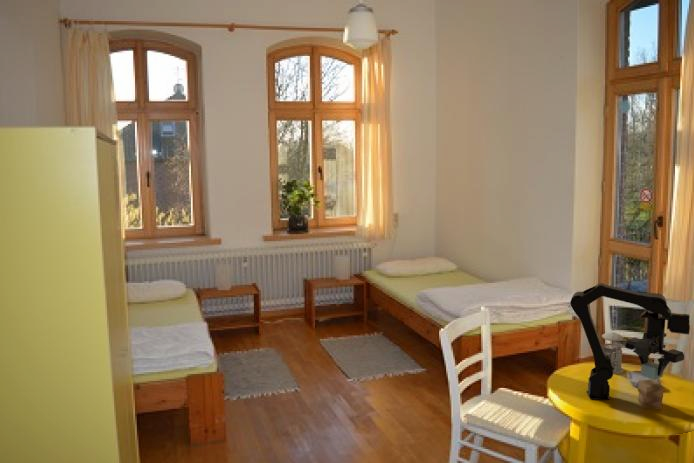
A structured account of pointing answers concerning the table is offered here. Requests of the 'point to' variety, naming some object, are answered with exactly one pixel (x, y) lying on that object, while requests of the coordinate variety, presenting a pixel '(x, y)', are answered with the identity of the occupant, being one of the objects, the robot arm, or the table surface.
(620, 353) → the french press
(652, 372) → the slate block
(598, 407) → the table surface
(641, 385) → the tower mid
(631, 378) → the stone block
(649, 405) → the tower base
